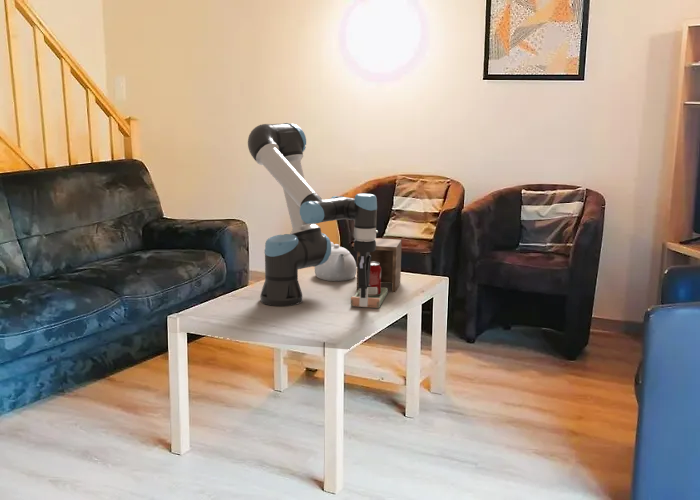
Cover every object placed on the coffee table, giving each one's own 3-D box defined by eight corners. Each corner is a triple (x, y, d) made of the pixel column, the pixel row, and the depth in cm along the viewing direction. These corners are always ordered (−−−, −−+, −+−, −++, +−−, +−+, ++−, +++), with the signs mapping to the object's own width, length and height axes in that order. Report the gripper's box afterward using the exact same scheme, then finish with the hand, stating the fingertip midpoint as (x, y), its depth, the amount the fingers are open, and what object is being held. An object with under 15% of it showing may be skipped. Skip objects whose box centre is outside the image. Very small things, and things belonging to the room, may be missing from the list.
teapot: (366, 275, 323) (367, 243, 320) (342, 284, 308) (343, 250, 305) (328, 269, 333) (329, 237, 330) (303, 277, 317) (303, 244, 315)
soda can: (379, 298, 284) (379, 265, 282) (360, 296, 286) (361, 264, 283) (382, 293, 291) (382, 261, 288) (364, 292, 292) (364, 260, 290)
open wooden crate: (356, 289, 300) (357, 244, 296) (363, 280, 314) (364, 237, 310) (395, 292, 297) (396, 247, 293) (400, 283, 311) (401, 239, 308)
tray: (350, 305, 277) (351, 297, 276) (361, 291, 296) (361, 283, 295) (378, 307, 275) (379, 299, 274) (387, 293, 294) (387, 285, 293)
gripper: (372, 243, 261) (370, 311, 266) (379, 236, 274) (377, 301, 279) (350, 242, 263) (349, 310, 268) (358, 235, 275) (356, 300, 280)
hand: (363, 305), depth 273 cm, fingers closed
